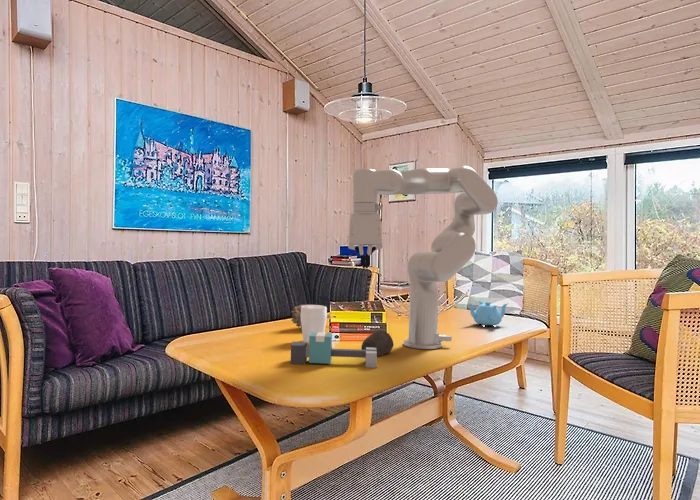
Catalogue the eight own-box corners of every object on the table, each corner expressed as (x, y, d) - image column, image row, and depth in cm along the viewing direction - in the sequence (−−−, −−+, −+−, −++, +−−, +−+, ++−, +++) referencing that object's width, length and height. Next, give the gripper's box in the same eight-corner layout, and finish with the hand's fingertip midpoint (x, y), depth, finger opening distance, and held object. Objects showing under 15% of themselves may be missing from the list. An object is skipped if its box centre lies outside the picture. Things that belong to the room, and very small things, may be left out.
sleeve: (331, 358, 136) (332, 332, 136) (330, 363, 131) (330, 336, 131) (311, 358, 136) (311, 332, 136) (308, 362, 131) (309, 335, 131)
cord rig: (376, 361, 136) (376, 343, 136) (376, 367, 130) (376, 349, 129) (293, 358, 137) (294, 340, 137) (289, 364, 130) (290, 346, 130)
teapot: (466, 325, 197) (466, 301, 197) (479, 321, 207) (480, 298, 207) (495, 330, 189) (496, 305, 189) (508, 325, 199) (508, 301, 199)
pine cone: (301, 333, 173) (301, 306, 172) (285, 329, 179) (285, 303, 179) (343, 326, 188) (344, 301, 188) (327, 323, 195) (328, 299, 195)
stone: (361, 367, 144) (379, 349, 138) (352, 343, 149) (369, 325, 144) (385, 367, 150) (403, 350, 144) (376, 344, 155) (394, 327, 149)
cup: (322, 345, 154) (323, 309, 154) (296, 343, 156) (297, 307, 156) (329, 339, 163) (330, 305, 163) (304, 338, 165) (305, 304, 165)
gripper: (388, 209, 150) (388, 267, 151) (341, 209, 150) (341, 267, 151) (390, 208, 143) (390, 268, 143) (341, 208, 143) (341, 268, 143)
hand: (365, 267), depth 147 cm, fingers closed
